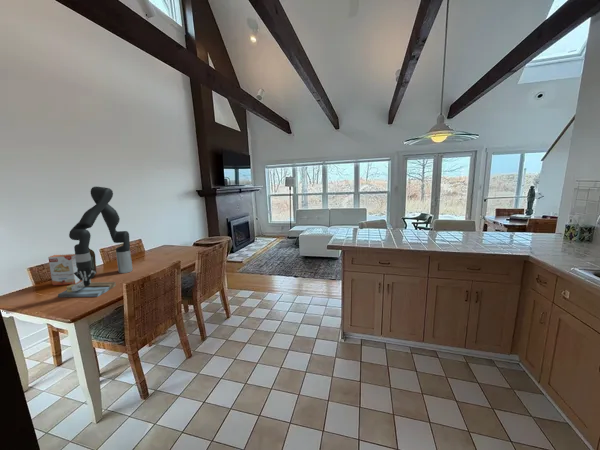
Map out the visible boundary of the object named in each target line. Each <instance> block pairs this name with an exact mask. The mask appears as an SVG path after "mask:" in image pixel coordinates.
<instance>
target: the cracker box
mask: <svg viewBox="0 0 600 450" xmlns="http://www.w3.org/2000/svg"><path fill="white" fill-rule="evenodd" d="M47 259H48V264H49V269H50V270H49V271H50V277H51V282H52V286H62V285H67V286H68V285H75V284H77V283H79V282H81V280H80V279H79V278H78V277H77V276H76V275H75V274H74V273H75V272H77V269H78V268H77V267H76V260H75V253H74V254H73V253H72V254H53V255H50V256H48V258H47Z"/></svg>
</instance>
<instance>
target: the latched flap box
mask: <svg viewBox="0 0 600 450" xmlns="http://www.w3.org/2000/svg"><path fill="white" fill-rule="evenodd" d="M116 283H117V282H116V281H91V283H90V285H89V286H85V287H83V288H82V289H80V290H78V291H72V288H71V287H72V286H74V285H76V284H77V283H76V284H69V285H67V286H66V288H65V289H66V290H64V291H62V292H60V293H58V294H57V297H58V298H93V297H94V298H95V297H96V298H98V297H100V296H102V295H103V294H105V293H107V292H108V291H110V290H112V289H114V288H115V287H116V286H117V284H116Z"/></svg>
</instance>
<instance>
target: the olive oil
mask: <svg viewBox="0 0 600 450" xmlns="http://www.w3.org/2000/svg"><path fill="white" fill-rule="evenodd" d="M89 251H90V255H91V262H92V269H93V271H96V272H97V264H96V263H97V262H96V253H95V251H94V250H93V249H91V248H89ZM90 275H91V273H90Z"/></svg>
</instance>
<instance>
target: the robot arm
mask: <svg viewBox="0 0 600 450" xmlns="http://www.w3.org/2000/svg"><path fill="white" fill-rule="evenodd" d="M90 196H91V199H92V201H94V203H95V204H94V205H93V206H92V207H89V209H87V210H86V211H85V212H84V213H83V215H82V216H81V218H80V220H79V221H78V222H77V223H76V224H75V225H74V226H73V227H72V228H71V229H70V231H69V233H68V237H69V238H70V240H73V241H79V243H77V244H75V245H74V246H73V247H74V254H75V260H76V267H77V268H78V269H77V272H75V273H74V274H75V275H76V276H77V277H78V278H79V279H80V281H83V282H84V285H85V286H89V285H90V279H91V280H92V279H93V278H94V277H95V276H96V274H97V270H96V271H93V269H92V262H91V255H90V251H89V249H90V242H91V238H92V237H91V236H92V235H91V233H90V231H89V230H88V229H91V228H92V227H93V226H94V224H95V222H96V220H97V218H98V217H99V215H100V214H101V216H102V219H103V222H104V223H105V225H106V226H107V229H108V232H109V235H110V238H111V240H112V242H113V243H114V244H122V243H123V244H122V245H121V246H118V247H116V249H115V252H116V253H115V255H116V262H117V263H116V264H117V271H118V273H119V274H126V273H130V272H132V271H133V261H132V260H133V259H132V254H131V245H130V244H131V243H130V233H129V231H127V230H122V231H117V230H116V229H117V226H118V225H119V223H120V219H121V218H120V216H119V213H118V211H117V210H116V209H115V208H114V207H113V206H111V205H110V204H109V203H110V202H111V200H112V198H113V196H114V193H113V190H112V189H111V188H109V187H105V186H92V188H90ZM90 273H91V275H90Z"/></svg>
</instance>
